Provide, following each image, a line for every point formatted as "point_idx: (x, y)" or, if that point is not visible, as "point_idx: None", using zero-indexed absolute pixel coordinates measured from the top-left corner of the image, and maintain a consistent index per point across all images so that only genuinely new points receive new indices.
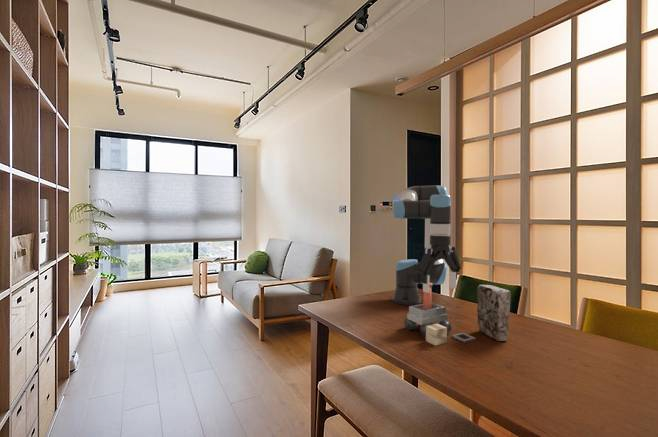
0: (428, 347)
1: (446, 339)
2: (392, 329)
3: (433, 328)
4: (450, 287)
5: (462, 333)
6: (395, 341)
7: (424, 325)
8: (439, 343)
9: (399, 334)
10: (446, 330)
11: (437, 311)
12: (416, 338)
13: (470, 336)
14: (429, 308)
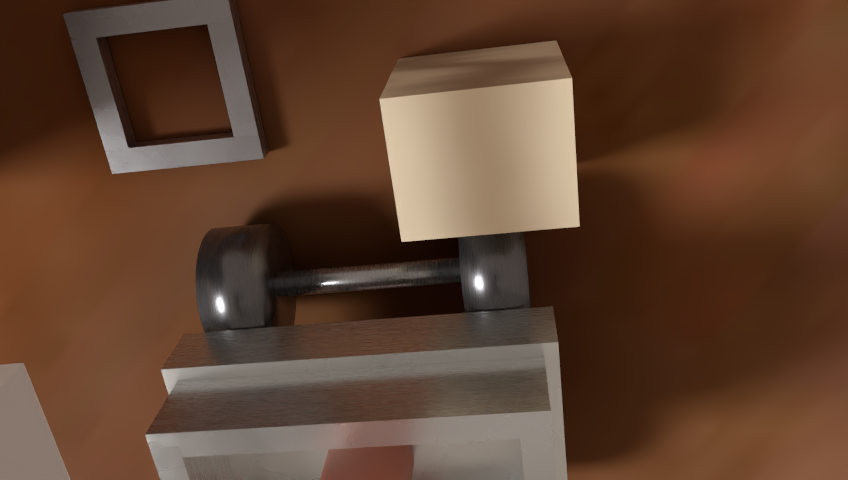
0: (652, 24)
1: (399, 65)
2: (664, 475)
3: (553, 131)
4: (64, 474)
5: (127, 157)
6: (840, 255)
7: (528, 292)
8: (497, 49)
9: (686, 370)
10: (389, 90)
11: (292, 403)
12: (605, 245)
13: (92, 66)
14: (362, 476)
